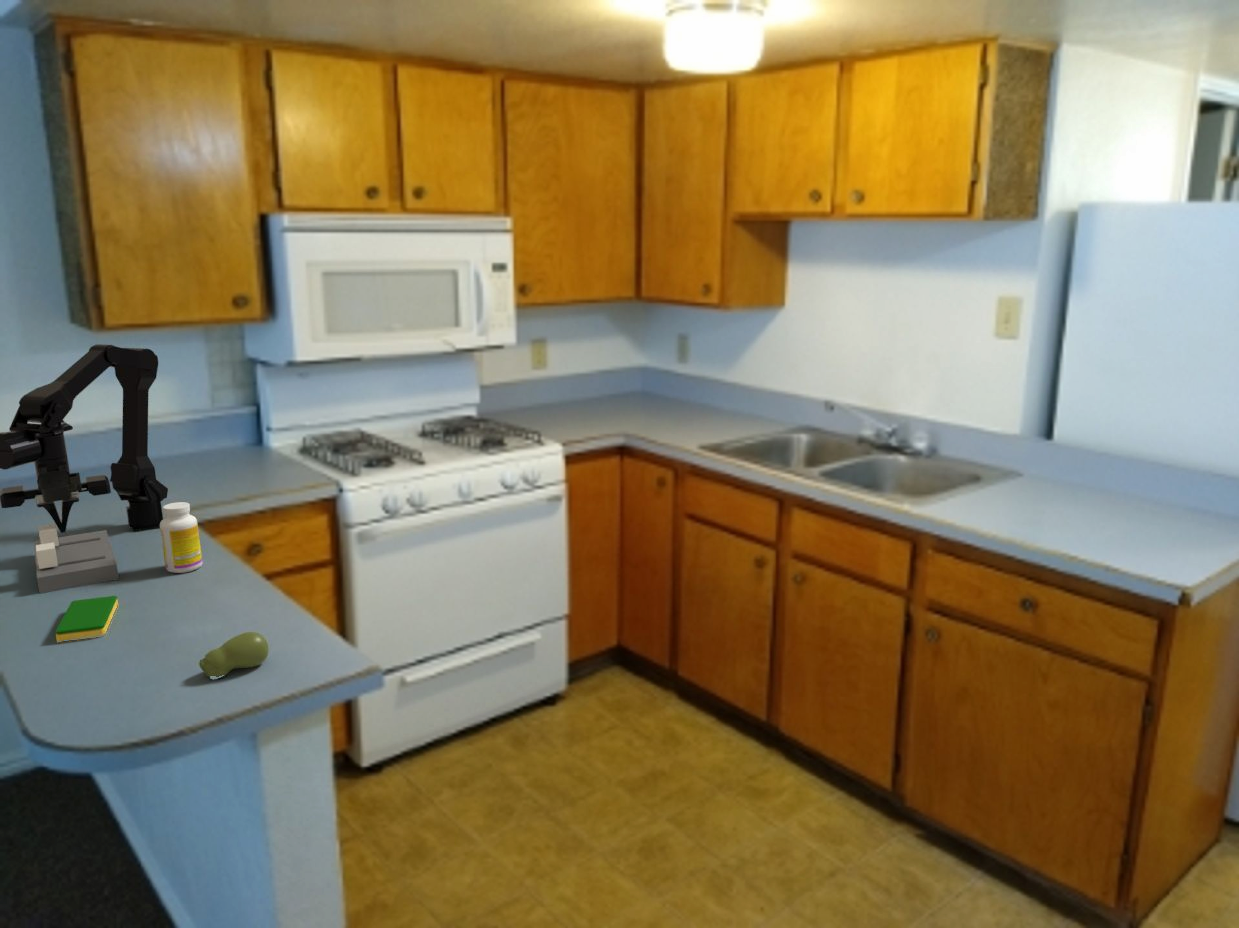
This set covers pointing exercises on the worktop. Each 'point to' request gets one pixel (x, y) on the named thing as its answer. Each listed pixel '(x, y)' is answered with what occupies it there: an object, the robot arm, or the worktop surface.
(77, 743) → the worktop surface
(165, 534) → the supplement bottle
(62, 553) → the grey slider switch panel
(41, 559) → the on handle
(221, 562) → the worktop surface
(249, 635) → the pear
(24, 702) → the worktop surface
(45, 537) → the cream matte cube
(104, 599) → the dish sponge
